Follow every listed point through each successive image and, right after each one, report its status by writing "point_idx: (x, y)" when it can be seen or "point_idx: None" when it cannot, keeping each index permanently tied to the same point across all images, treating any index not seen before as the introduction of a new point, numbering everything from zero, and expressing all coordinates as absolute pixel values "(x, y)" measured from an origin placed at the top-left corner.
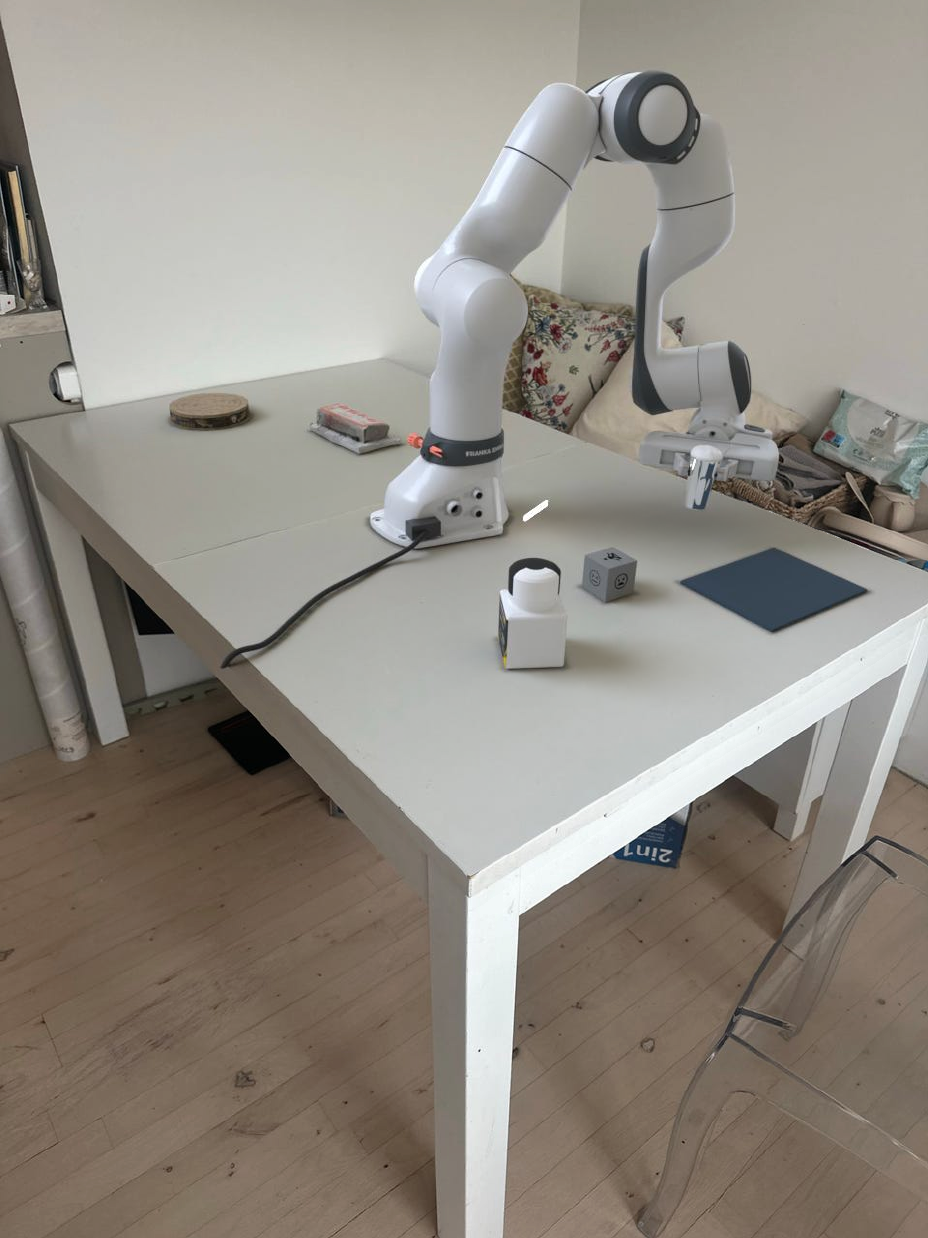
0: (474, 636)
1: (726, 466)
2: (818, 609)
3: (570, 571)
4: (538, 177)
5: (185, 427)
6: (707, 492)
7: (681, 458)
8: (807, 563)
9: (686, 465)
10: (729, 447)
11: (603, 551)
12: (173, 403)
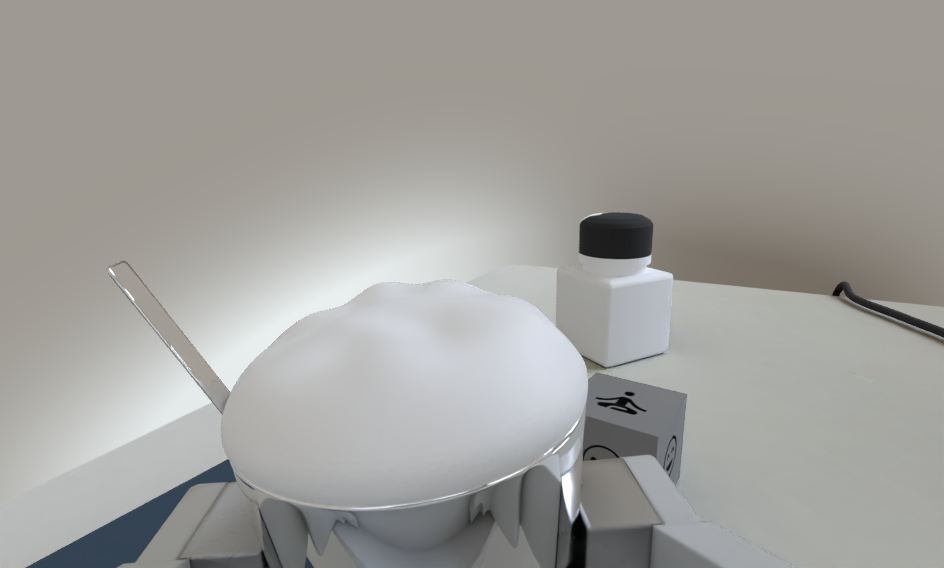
0: (699, 350)
1: (172, 548)
2: (32, 565)
3: (773, 530)
4: None
5: None
6: None
7: (723, 548)
8: None
9: (586, 462)
10: (150, 300)
11: (661, 414)
12: None
